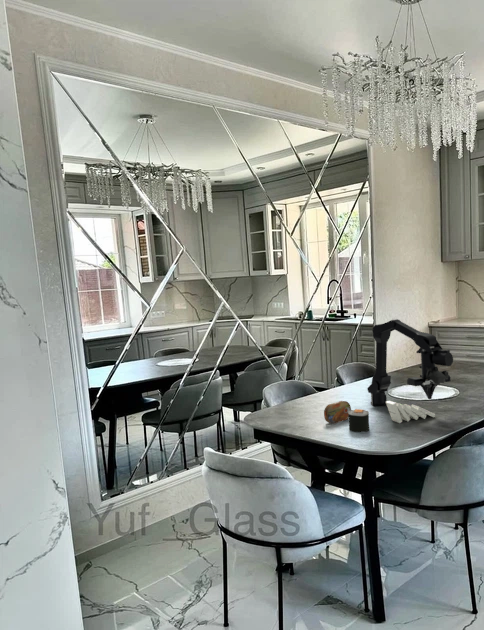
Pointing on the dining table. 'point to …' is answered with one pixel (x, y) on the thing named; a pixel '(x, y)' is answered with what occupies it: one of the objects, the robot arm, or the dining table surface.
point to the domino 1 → (394, 411)
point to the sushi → (358, 420)
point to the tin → (337, 412)
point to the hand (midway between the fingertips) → (429, 399)
